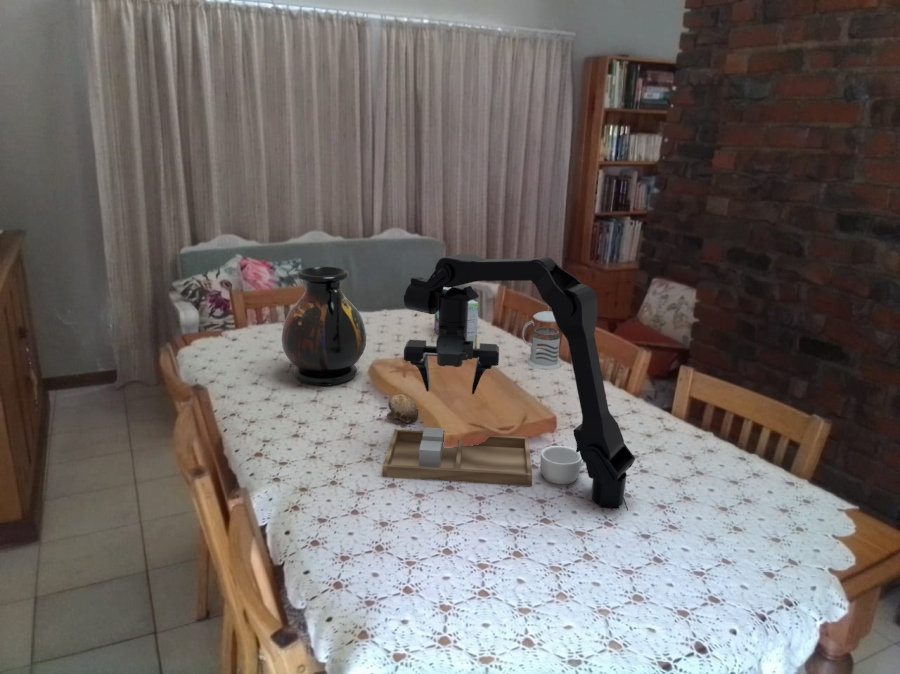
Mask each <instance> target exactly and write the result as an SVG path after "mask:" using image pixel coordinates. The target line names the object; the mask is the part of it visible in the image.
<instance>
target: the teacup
mask: <svg viewBox="0 0 900 674" xmlns="http://www.w3.org/2000/svg"><path fill="white" fill-rule="evenodd" d="M576 449H577V448H576ZM576 449H575V448H573V447H570V446H565V445H551V446H547V447H545V448H543V449H542V450H541V451H540V472H541V474H542V476H543V478H544V479H545V480H546V481H547V482H550V483H552V484H556V485H568V484H572V483H573V482H575V481H576V480H577V478H578V477H579V473H580V470H581V468H582V467H583V466H584V465H586V463H585V462H584V461H583V460H582V458H581V455H580V451H579V452H576Z"/></svg>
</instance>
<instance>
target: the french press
mask: <svg viewBox="0 0 900 674" xmlns="http://www.w3.org/2000/svg"><path fill="white" fill-rule="evenodd" d="M549 309H550V306H549V305H548V304H547V310H543V311H539V312H537V313H535V314H534V315H533V316H532V317H533V319H534V320H535V321H538V322H542V323H546V326H544V327H542V326H541V327H536V328H534V329H533V331H534V333H533V334H532V340H531V341H532V343H528V342H527V340H526V339H525V337H524V336H525V331H526V328H527V327H528V326H529V325H531V324H532V326H533V327H535V321H534V320H530V321H527V323H525V324H524V326H523V328H522V334H521V335H522V339H523V341H524V342H523V343H525V345H526V346H528V347H529V348H530V358H529V359H527V361H526V362H527V363H526V364H527V365H528V366H530V367H532V368H535V369H538V370H539V369H540V370H556V369H559V368H560V367H562V363H561V362H560V360H559V355H560V354H559V353H560V343H561V336H560V335H559V334H560V331H559V330H560V329H559V330H558V329H556V328H553V327H548V324H549V323H556V321H555V318H554V315H553V312H552V310H549ZM540 336H543V337H540ZM538 337H539V338H538ZM546 338H547V339H546ZM548 339H549V340H548Z"/></svg>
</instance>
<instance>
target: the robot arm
mask: <svg viewBox="0 0 900 674" xmlns="http://www.w3.org/2000/svg"><path fill="white" fill-rule="evenodd" d="M434 269H435V270H434V272H433V273H432V274H431V276H430V277H429V278H428V279H426V278H423V277H421V276H415V277H411V278H410V283H409V285H408V286H407V287H406V290H405V293H404V295H403V303H404V306H405V307H406V308H407V310H411V311H416V312H419V313H424V314H428V315H435V313H437V312H438V310H439V324H438V334H437V338H436V345H427V340H423V339H408V340H407V342H406V343H405V346H404V349H403V360H404V361H406V362H410V365H413V366H415V367H416V368H417V369H418V372H419V373H420V376H421V378H422V382H423V384H424V388H425V391H426V392H427V393H428V392H430V384H431V383H430V370H429V356H431V357H436V359H437V360H436V363H437V365H438V366H440V367H448V366H449V367H450V366H451V367H455V368H459V367H462V365H463V361H468V360H473V359H476V364H475V369H474V375H473V380H472V386H471V387H472V388H471V389H472V390H471V395H474V394H475V393H476V390H477V388H478V385H479V383H480V380H481V378H482V376H483V374H484V372H485V371H486V370H491V369H492V367H494V366H495V367H496V366H497V367H498V366H499V360H500V348H499V346H498V344H496V343H479V348H477V349H476V348H473V341H467V323H468V301H471V300H474V301H475V300H476V299H478V298H479V297H480V296H479V294H478V293H477V292H476V291H475V290H474V289H473V287H472V286H471V285H468V286H466V287H464V288H459V287H458V286H463V285H466V284H470V283H471V284H472V283H475V282H483V281H485V282H487V281H488V282H490V281H491V282H492V281H493V282H496V281H497V282H498V281H499V282H500V281H501V282H503V281H504V282H506V281H508V282H509V281H510V282H511V281H513V282H514V281H515V282H517V281H519V282H520V281H526V282H528V281H530V282H531V283H532V284H533V285H534V286H535V287H536V290H537V291H538V293H539V295H540V297H541V299H542V301H544V302H545V303H546V304H547V306H548V305H549V308H550V309H551V312H553V315H554V318H555V321H556V322H555V323H556V326H557V328H558V329H559V330H560V331H559V332H561V333H562V335H563V336H564V338H565V339H566V340H567V344H568V349H569V354H570V359H571V364H572V369H573V376H574V380H575V385H576V391H577V396H578V399H579V401H578V402H579V405H580V411H581V416H582V417H581V419H582V420H581V424H579V425H578V426H577V427H575V428H574V429H573V437H574V439H575V443H576V452H580V455H581V458H582V462H583V461H584V462H585V466H586V467H585V468H586V471H587V475H588V478H590V479H592V484H591V485H592V487H591V494H590V499H591V500H592V501H593V503H595V504H596V505H597V506H599V508H601V509H611V510H612V509H613V510H619V509H620V506H622V505H623V504H624V505H625V508H626V511H627V512H628V511H629V509H628V506H627V503H626V499H625V492H626V491H625V490H626V483H627V482H626V481H627V471H628V470H629V469H630V468H631V467H632V466H633V465H634V462H635V461H636V457H635V456H634V455H633V453H632V452H631V451H630V449H629V448H628V446H627V445H626V443H625V440H624V436H623V434H622V432H621V431H622V430H621V428H620V426H619V423H618V421H616V419H615V417H614V416H613V415H612V414H611V412H610V409H609V404H608V400H607V393H606V389H605V385H604V384H605V383H604V379H603V374H602V373H603V372H602V368H601V363H600V358H599V352H598V347H597V342H596V336H595V332H596V326H597V322H598V321H597V320H598V317H599V316H598V314H599V313H598V296H597V294H596V291H595V290H594V289H592V288H591V287H590V286H589V285H586V284H584V283H582V282H581V281H580V280H579V279H578V278H577V277H576V276H575V275H573V274H572V273H570V272H568V271H567V270H566V269H564V268H562V267H560V265H559V264H558V263H557V262H556V261H555V260H553V258H551V257H548V256H541V257H528V258H526V257H524V258H523V257H522V258H491V259H490V258H489V259H488V258H482V257H480V256H478V255H473V254H468V253H458V254H454V255H450V256H446V257H442V258H439V259H438V261H437V263H436V264H435V268H434ZM443 287H447V288H449V287H451V288H450V289H449V290H446V289H443Z"/></svg>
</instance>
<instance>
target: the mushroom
mask: <svg viewBox="0 0 900 674" xmlns="http://www.w3.org/2000/svg"><path fill="white" fill-rule="evenodd" d="M414 402H415V401H414V400H413V399H411V397H409V396H406V395H405V394H401V393H399V394H395V395H392V396H391V397H390V398H389V399H388V402H387V404H388V407H389V409H390V411H388V412H387V414H386V418H387V419H388V420H401V421H402V422H404V423H406V424H413V423H415V422H416V421H418V418H419V412H418V411H419V408H418V409H417V407H418V405H417V404H416V403H414ZM416 405H417V406H416Z"/></svg>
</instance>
